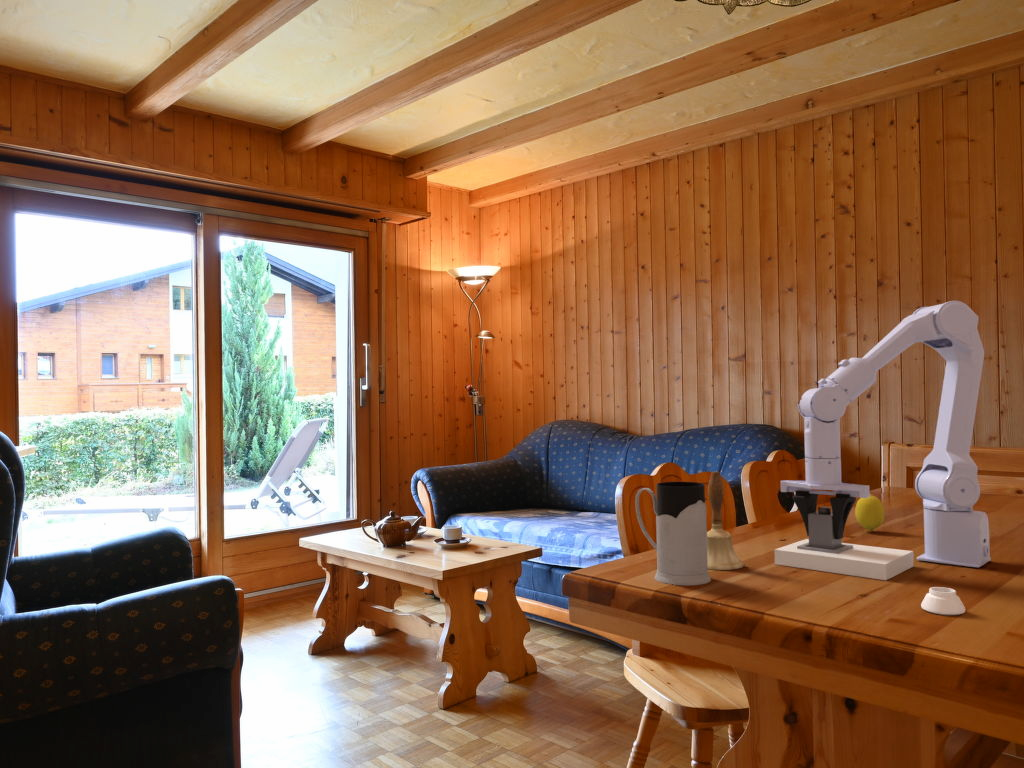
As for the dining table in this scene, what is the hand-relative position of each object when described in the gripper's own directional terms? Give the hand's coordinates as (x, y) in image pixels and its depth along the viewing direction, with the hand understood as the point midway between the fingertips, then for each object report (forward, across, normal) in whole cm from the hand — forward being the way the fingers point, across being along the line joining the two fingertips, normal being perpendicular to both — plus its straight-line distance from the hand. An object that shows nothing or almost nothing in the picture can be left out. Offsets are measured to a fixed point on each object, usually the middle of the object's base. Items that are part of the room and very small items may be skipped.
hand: (824, 536), depth 131 cm
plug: (+3, 0, 0) cm, 3 cm away
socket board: (+4, +3, 0) cm, 5 cm away
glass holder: (+5, -15, -25) cm, 30 cm away
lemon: (+5, -5, +35) cm, 36 cm away
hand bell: (+5, -13, -13) cm, 19 cm away
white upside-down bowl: (+5, +23, -19) cm, 30 cm away
